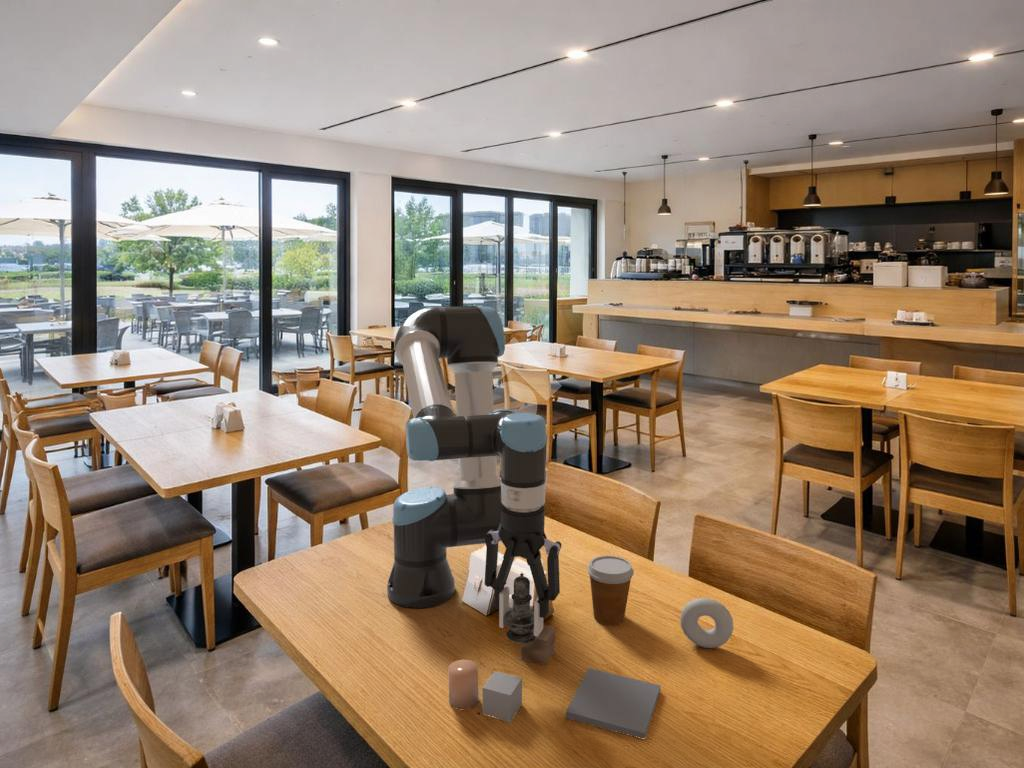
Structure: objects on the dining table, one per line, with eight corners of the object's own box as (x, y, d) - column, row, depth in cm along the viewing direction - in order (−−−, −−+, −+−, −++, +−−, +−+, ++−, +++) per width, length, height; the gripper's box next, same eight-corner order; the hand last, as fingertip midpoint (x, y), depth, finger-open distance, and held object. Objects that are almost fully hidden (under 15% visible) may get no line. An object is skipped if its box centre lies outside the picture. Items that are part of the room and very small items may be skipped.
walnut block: (521, 659, 125) (521, 635, 124) (530, 645, 130) (530, 621, 129) (546, 665, 123) (546, 640, 122) (554, 651, 128) (555, 627, 127)
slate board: (565, 718, 109) (566, 711, 109) (588, 673, 121) (588, 667, 120) (644, 740, 104) (645, 733, 104) (660, 691, 116) (660, 685, 115)
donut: (732, 646, 129) (735, 599, 128) (731, 656, 126) (735, 607, 124) (679, 636, 133) (682, 590, 131) (677, 645, 130) (680, 598, 128)
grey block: (482, 714, 110) (482, 687, 109) (495, 696, 114) (494, 670, 113) (510, 722, 108) (510, 695, 107) (521, 704, 112) (522, 677, 111)
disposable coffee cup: (577, 617, 140) (578, 564, 138) (604, 601, 146) (606, 550, 144) (613, 635, 133) (615, 579, 131) (640, 617, 140) (643, 564, 138)
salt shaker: (518, 622, 122) (519, 561, 119) (544, 633, 118) (545, 571, 116) (497, 636, 117) (498, 573, 115) (523, 648, 114) (524, 584, 111)
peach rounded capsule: (443, 704, 112) (442, 672, 111) (458, 687, 117) (457, 656, 115) (469, 713, 110) (468, 681, 109) (483, 695, 114) (483, 664, 113)
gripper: (463, 503, 113) (463, 626, 118) (568, 521, 106) (565, 652, 110) (482, 489, 120) (482, 606, 124) (582, 505, 113) (578, 629, 117)
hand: (521, 627), depth 117 cm, fingers closed on salt shaker, 6 cm apart
